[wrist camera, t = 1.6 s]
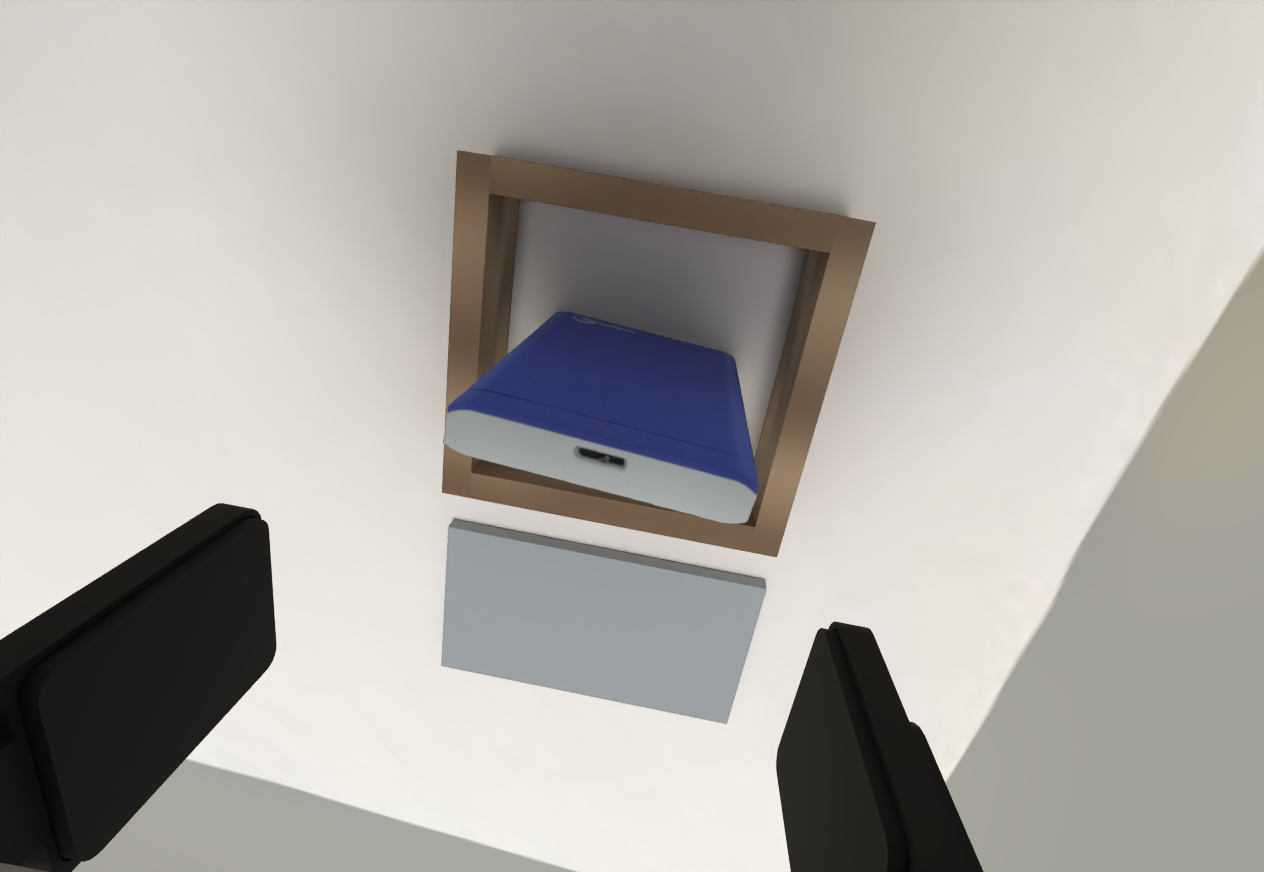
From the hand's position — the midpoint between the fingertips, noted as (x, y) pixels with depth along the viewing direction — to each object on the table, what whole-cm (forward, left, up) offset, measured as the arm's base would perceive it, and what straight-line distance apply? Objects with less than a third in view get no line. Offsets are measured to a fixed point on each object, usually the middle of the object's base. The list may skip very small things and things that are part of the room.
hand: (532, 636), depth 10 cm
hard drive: (0, 0, -19) cm, 19 cm away
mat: (+15, 0, -18) cm, 23 cm away
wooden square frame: (0, 0, -18) cm, 18 cm away
